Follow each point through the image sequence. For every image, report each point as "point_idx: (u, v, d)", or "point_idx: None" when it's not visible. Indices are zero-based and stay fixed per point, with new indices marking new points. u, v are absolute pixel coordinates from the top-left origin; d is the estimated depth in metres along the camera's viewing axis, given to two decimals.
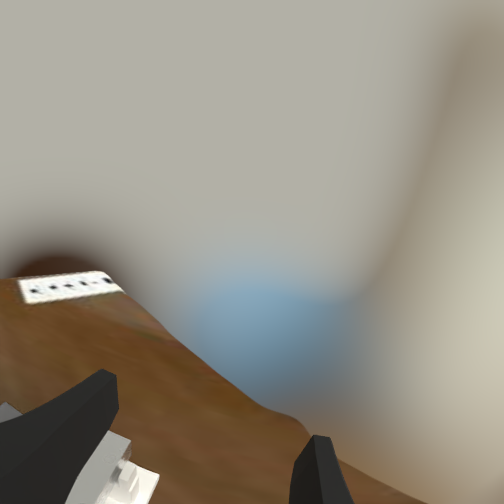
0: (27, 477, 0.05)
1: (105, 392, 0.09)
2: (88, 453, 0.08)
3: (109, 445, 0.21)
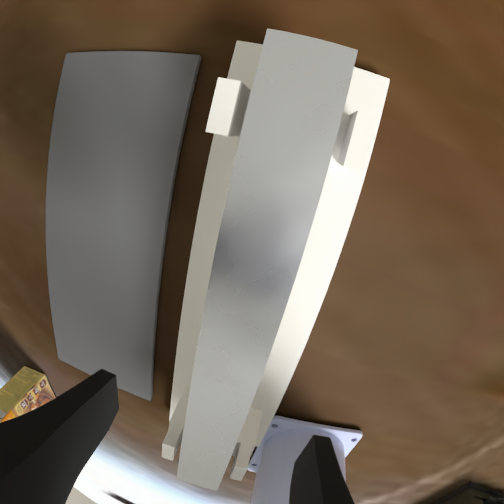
0: (27, 477, 0.05)
1: (105, 392, 0.09)
2: (88, 453, 0.08)
3: (305, 79, 0.09)
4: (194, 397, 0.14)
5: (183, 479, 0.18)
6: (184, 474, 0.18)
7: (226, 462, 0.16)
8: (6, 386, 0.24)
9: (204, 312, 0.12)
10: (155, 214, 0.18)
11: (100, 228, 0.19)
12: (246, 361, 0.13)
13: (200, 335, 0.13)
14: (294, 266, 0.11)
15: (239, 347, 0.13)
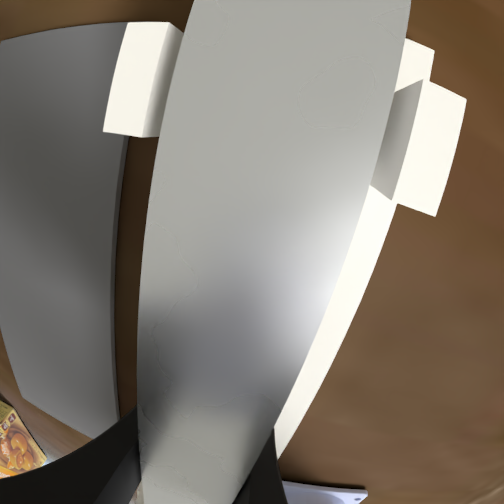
0: None
1: None
2: (140, 477, 0.08)
3: (308, 3, 0.03)
4: (150, 499, 0.09)
5: None
6: None
7: None
8: None
9: (140, 429, 0.07)
10: (97, 248, 0.13)
11: (39, 262, 0.14)
12: (210, 484, 0.07)
13: (142, 451, 0.07)
14: (281, 392, 0.05)
15: (199, 472, 0.07)
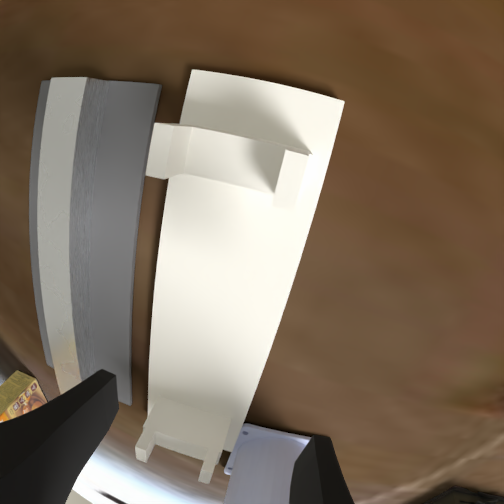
0: (27, 477, 0.05)
1: (105, 392, 0.09)
2: (88, 453, 0.08)
3: (64, 102, 0.14)
4: (45, 307, 0.20)
5: None
6: (62, 387, 0.23)
7: (78, 372, 0.21)
8: (0, 389, 0.25)
9: (38, 242, 0.18)
10: (124, 237, 0.19)
11: None
12: (60, 275, 0.18)
13: (39, 258, 0.18)
14: (67, 209, 0.17)
15: (55, 265, 0.18)
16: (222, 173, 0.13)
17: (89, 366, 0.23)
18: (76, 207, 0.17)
